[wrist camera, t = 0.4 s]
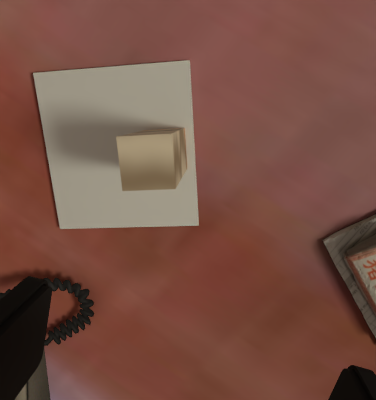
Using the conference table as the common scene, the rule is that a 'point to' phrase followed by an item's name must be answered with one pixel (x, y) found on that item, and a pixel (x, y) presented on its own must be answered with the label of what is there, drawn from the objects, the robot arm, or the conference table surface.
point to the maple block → (152, 159)
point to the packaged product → (357, 264)
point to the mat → (114, 142)
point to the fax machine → (56, 339)
